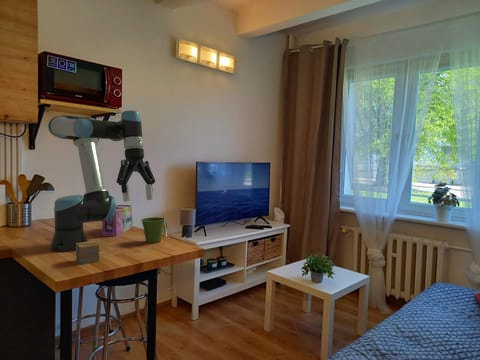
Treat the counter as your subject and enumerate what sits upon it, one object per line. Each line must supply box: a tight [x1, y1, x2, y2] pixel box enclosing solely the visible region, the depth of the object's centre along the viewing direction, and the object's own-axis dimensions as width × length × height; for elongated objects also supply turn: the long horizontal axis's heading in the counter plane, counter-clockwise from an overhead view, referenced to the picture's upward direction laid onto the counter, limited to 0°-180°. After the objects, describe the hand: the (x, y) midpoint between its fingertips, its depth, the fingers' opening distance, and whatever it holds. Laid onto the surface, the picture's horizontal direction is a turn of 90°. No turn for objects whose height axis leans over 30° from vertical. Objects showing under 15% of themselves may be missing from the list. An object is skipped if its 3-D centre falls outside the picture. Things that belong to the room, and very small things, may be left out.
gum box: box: [101, 204, 133, 237], centre depth 191 cm, size 24×8×14 cm, turn 177°
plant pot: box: [140, 216, 166, 244], centre depth 171 cm, size 12×12×11 cm
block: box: [75, 240, 100, 265], centre depth 138 cm, size 7×7×7 cm
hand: (138, 200), depth 140 cm, fingers open, 13 cm apart
